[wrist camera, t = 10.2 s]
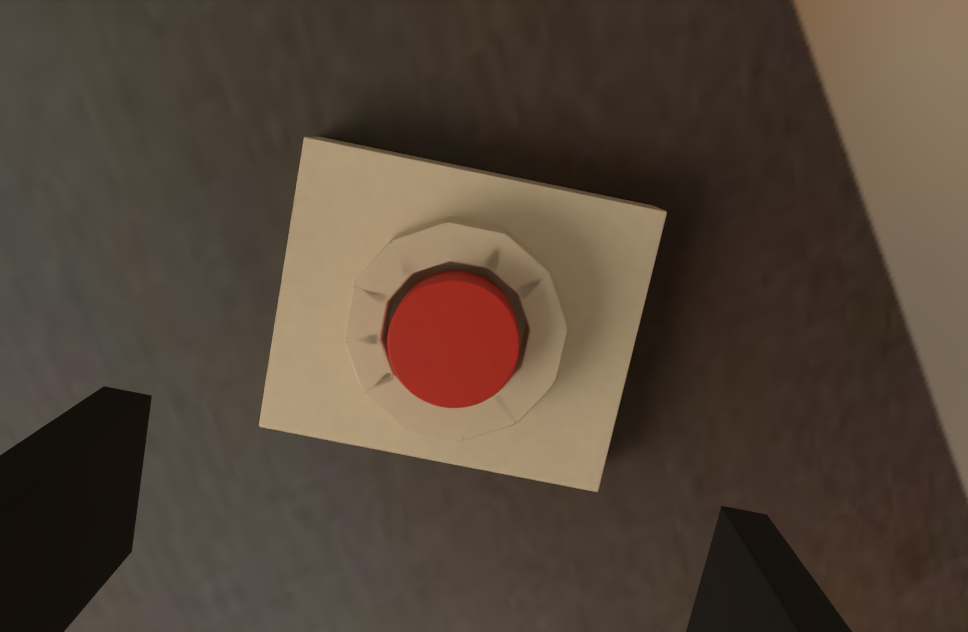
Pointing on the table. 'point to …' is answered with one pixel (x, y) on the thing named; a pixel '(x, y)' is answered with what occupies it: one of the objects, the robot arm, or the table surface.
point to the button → (454, 339)
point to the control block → (466, 247)
